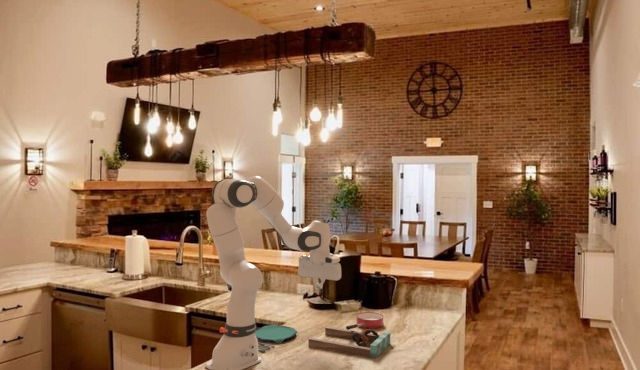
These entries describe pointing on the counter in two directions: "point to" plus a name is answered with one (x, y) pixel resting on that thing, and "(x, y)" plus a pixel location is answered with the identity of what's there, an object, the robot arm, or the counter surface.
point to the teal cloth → (274, 334)
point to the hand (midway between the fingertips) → (318, 288)
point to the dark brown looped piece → (363, 337)
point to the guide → (371, 352)
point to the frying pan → (368, 321)
